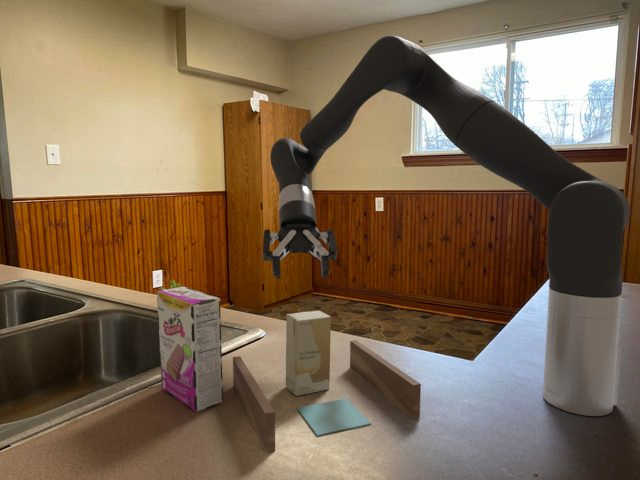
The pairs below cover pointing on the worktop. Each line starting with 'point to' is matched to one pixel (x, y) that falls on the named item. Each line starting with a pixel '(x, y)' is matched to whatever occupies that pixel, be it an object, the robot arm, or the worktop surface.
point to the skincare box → (308, 352)
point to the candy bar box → (190, 347)
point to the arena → (334, 412)
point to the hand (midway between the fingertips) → (301, 276)
